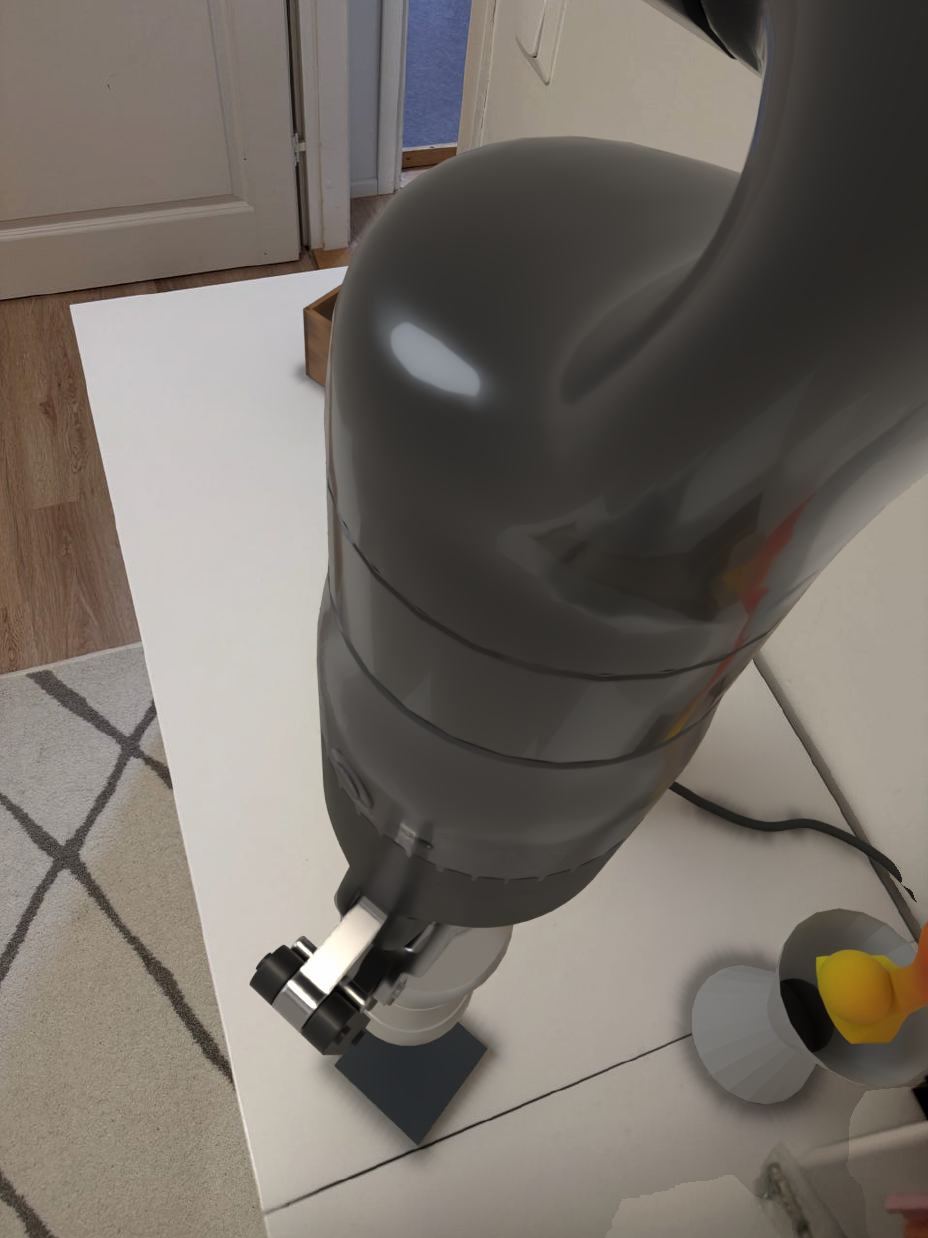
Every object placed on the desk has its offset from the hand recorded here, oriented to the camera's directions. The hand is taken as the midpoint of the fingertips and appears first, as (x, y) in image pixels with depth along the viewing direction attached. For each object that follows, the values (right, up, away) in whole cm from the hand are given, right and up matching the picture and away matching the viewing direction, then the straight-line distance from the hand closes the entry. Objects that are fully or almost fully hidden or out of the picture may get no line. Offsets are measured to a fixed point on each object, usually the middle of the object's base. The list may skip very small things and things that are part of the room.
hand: (433, 903), depth 32 cm
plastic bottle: (-2, -8, +13) cm, 16 cm away
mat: (-2, -18, +25) cm, 31 cm away
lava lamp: (+21, -18, +28) cm, 39 cm away
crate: (-8, +35, +58) cm, 68 cm away
